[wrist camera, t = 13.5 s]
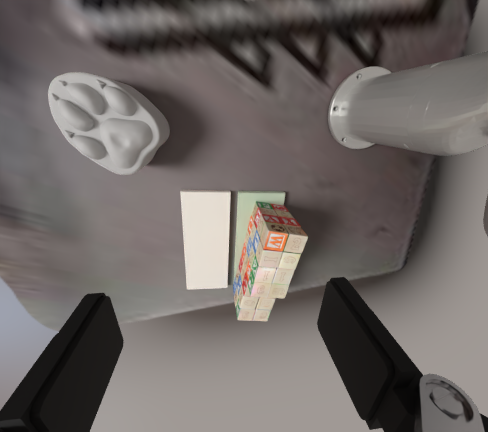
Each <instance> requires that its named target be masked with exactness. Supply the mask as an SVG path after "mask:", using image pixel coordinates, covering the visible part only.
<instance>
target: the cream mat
mask: <svg viewBox="0 0 488 432" xmlns="http://www.w3.org/2000/svg"><path fill="white" fill-rule="evenodd" d="M230 195H231V192H230V191H218V190H181V206H182V221H183V236H184V251H185V266H186V281H187V289H211V288H227V282H228V253H229V224H230Z"/></svg>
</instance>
